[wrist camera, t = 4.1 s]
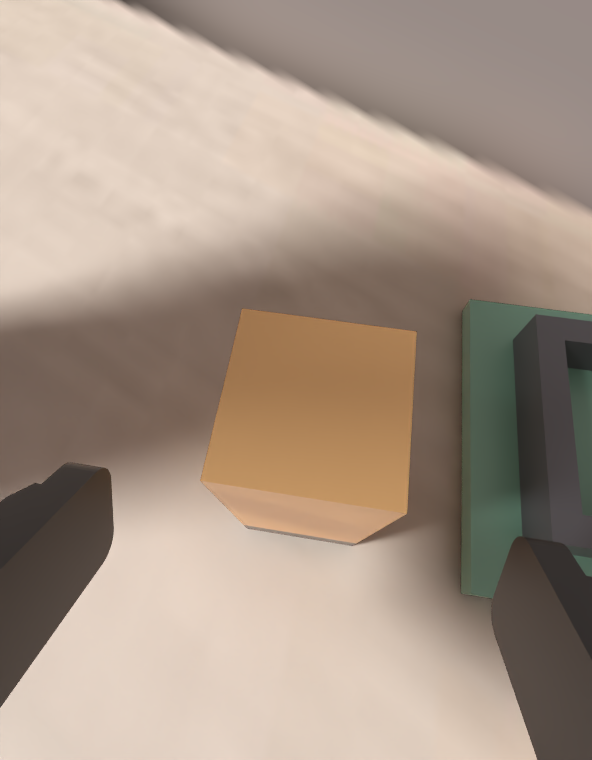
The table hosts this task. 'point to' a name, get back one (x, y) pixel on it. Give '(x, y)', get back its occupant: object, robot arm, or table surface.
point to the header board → (524, 436)
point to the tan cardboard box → (314, 427)
